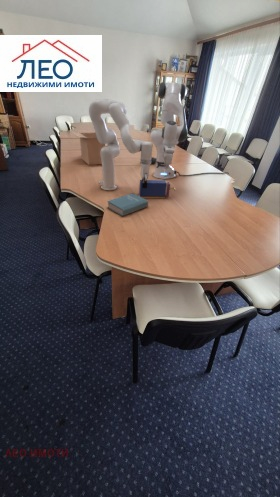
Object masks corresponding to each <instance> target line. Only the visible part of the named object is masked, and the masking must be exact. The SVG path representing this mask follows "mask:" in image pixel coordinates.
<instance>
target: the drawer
mask: <svg viewBox="0 0 280 497" xmlns="http://www.w3.org/2000/svg"><path fill="white" fill-rule="evenodd" d="M166 183H167V186H166V194H165V197H167V198H169V196H170V191H177V189H176V188H175V187H171V183H170V181H166Z"/></svg>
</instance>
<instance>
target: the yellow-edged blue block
mask: <svg viewBox="0 0 280 497" xmlns="http://www.w3.org/2000/svg"><path fill="white" fill-rule="evenodd" d="M166 189H167V181H166V180H165V179H162V180H158V179H147V188H143V180H142V179H139V186H138V196H140V197H142V198H144V199H166Z"/></svg>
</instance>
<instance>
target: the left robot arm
mask: <svg viewBox="0 0 280 497" xmlns="http://www.w3.org/2000/svg"><path fill="white" fill-rule="evenodd" d="M105 114H106V115H107V114H108V115H110V117H111V118H112V120H113V122H114V123H115V125H116V127H117V128H118V130H119V133H120V138H121V142H122V144H123V146H124V147H125V149H126V150H127V152H129V153H130V154H133V155H134V154H136V153H140V159H141V160H140V162H139V163H140V164H141V165H140V178H141V180H143V188H147V180H149V178H150V177H149V176H150V175H149V174H150V165H152V164H151V158H152V157H153V145H154V144H153V143H152V142H151V141H144V140H142V139H135V140H134V139H133V137H132V135H131V133H130V128H131V121H130V120H129V118H128V117H127V115H126V114H127V106H126V105H125V103H123V102H121V101H117V100H112V99H108V98H97V99H94V100H92V101H91V102H90V103H89V106H88V115H89V118H90V121H91V124H92V127H93V130H94V132H95V133H96V136H97V139H98V141H99V143H100V144H105V147H103V148H102V149H101V151H100V155H101V160H102V164H101V169H102V170H101V171H102V180H98V184H99V185H101V186H100V188H101V190H103V191H114V190H117V188H118V186H117V185H116V170H115V168H116V166H115V160H114V159H116V158H117V157H119V156H120V154H121V149H120V148H121V147H120V145H119V141H118V137H117V134H116V132H115V130H114V129H113V128H110V127H108V128H107V125H106V121H105V119H104V118H103V116H102V115H105Z"/></svg>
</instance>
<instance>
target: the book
mask: <svg viewBox="0 0 280 497" xmlns="http://www.w3.org/2000/svg"><path fill="white" fill-rule="evenodd" d="M146 207H149V200H148V199H147V198H142V197H140V196H139V195H137V194H135V193H133V192H131V193H129V194H125V195H122V196H119V197H115V198H112V199H109V200H107V208H108V209H109V210H111V211H112V212H115V213H116V214H117V215H119V216H121V217H124V216H126V215H129V214H132V213H134V212H137V211H140V210H142V209H144V208H146Z"/></svg>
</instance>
